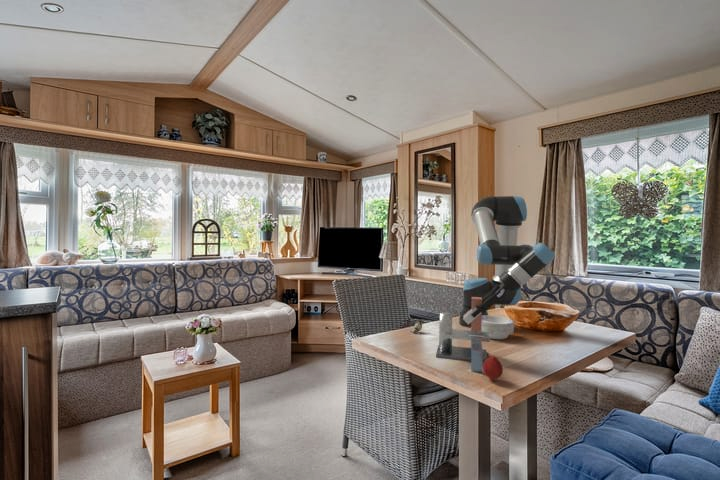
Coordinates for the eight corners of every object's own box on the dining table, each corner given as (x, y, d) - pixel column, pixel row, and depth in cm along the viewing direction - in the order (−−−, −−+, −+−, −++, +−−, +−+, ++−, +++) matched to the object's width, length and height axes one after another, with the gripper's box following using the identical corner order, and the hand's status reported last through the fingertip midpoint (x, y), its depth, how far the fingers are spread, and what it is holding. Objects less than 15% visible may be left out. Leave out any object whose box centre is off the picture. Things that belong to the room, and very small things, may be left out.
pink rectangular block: (481, 329, 132) (481, 297, 132) (481, 331, 129) (481, 299, 129) (471, 328, 133) (471, 296, 133) (471, 330, 130) (471, 298, 130)
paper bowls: (517, 342, 149) (518, 324, 149) (480, 340, 151) (480, 322, 151) (508, 332, 164) (508, 315, 164) (474, 331, 167) (475, 314, 166)
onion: (486, 374, 114) (486, 350, 114) (504, 379, 110) (505, 354, 110) (479, 380, 109) (480, 354, 109) (498, 385, 106) (499, 359, 105)
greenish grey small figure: (416, 330, 167) (417, 317, 166) (426, 333, 163) (427, 320, 162) (409, 332, 163) (410, 319, 162) (419, 335, 159) (420, 322, 159)
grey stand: (487, 352, 136) (488, 313, 136) (491, 373, 115) (492, 327, 115) (438, 347, 141) (439, 309, 141) (433, 366, 120) (434, 322, 120)
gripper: (525, 289, 118) (473, 333, 123) (518, 283, 134) (472, 322, 139) (509, 272, 120) (457, 317, 125) (504, 268, 136) (458, 308, 141)
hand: (465, 320), depth 132 cm, fingers closed on pink rectangular block, 3 cm apart
